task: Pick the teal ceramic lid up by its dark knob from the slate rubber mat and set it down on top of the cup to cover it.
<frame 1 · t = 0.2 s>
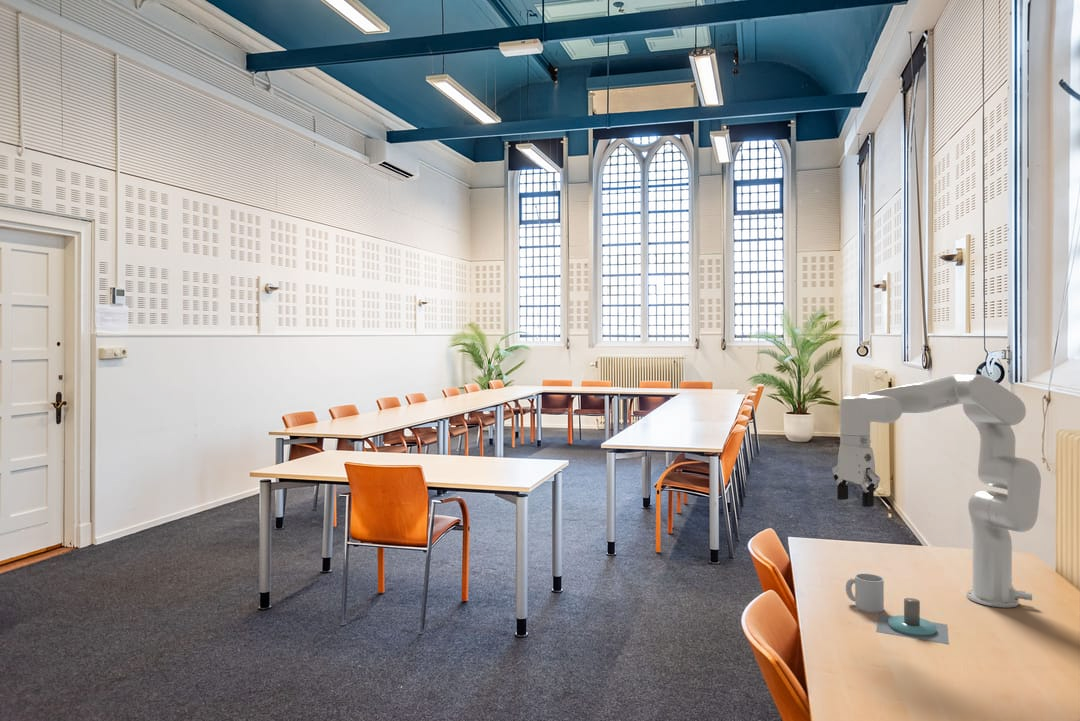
hand: (855, 502, 188), 31 cm above the table, tool pointing down, fingers open, 9 cm apart
cup: (864, 608, 192), on the table
mat: (912, 629, 177), on the table
lid: (911, 628, 177), resting on mat
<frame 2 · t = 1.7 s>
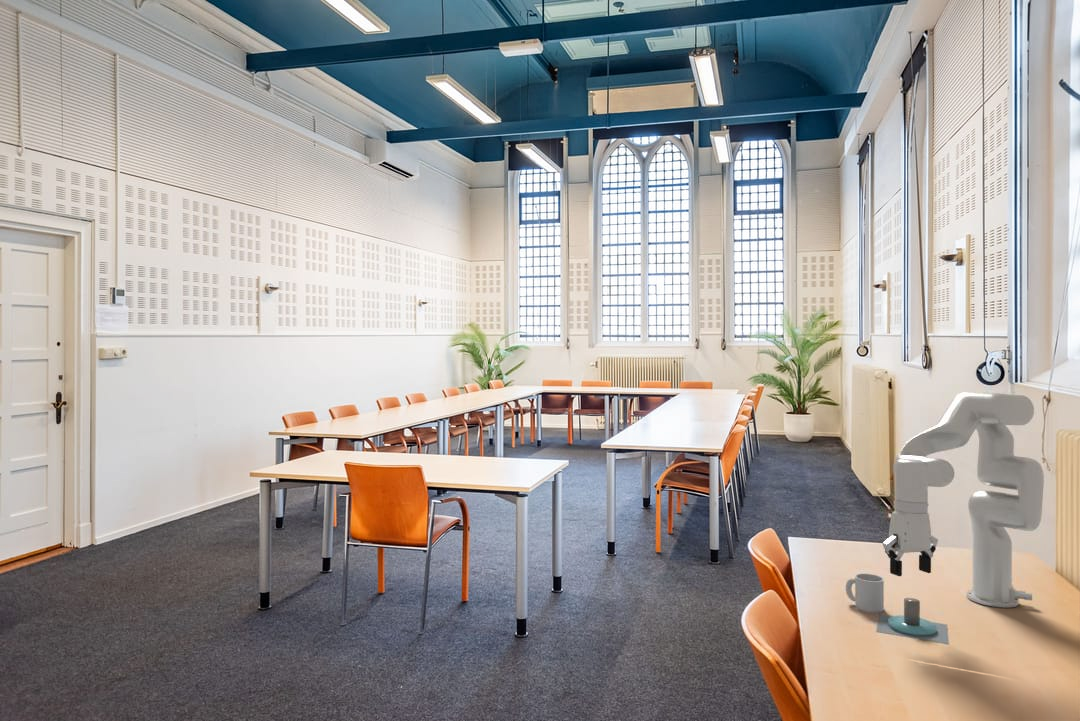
hand: (910, 573, 176), 15 cm above the table, tool pointing down, fingers open, 9 cm apart
nothing on the table moved.
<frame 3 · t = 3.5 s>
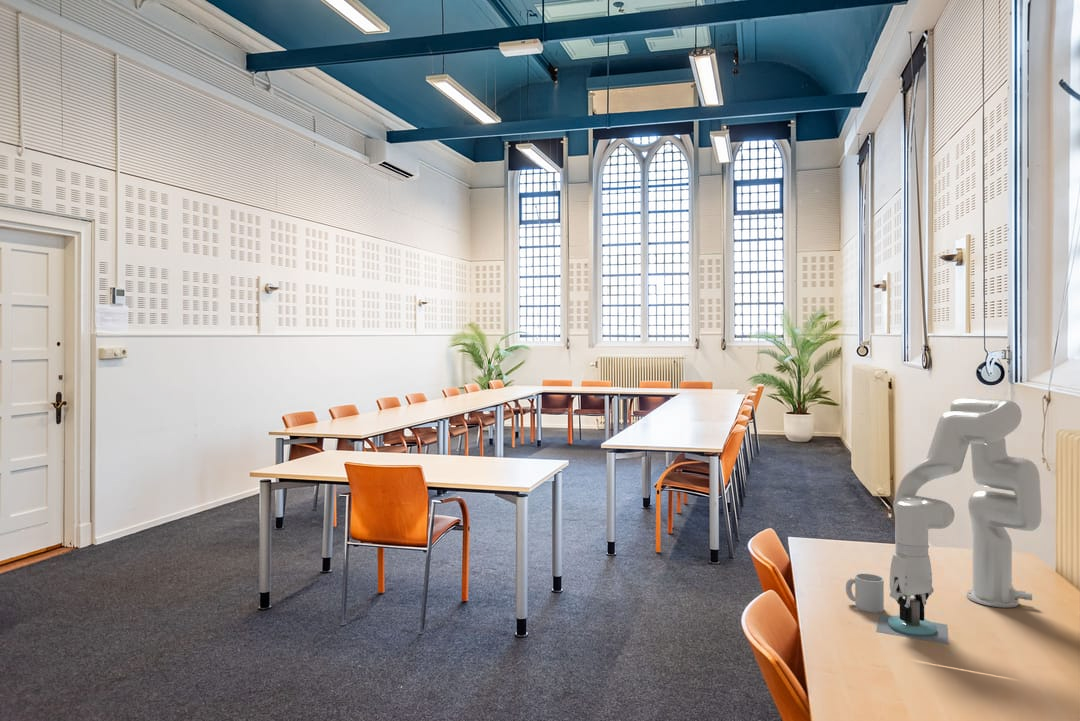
hand: (911, 619, 177), 3 cm above the table, tool pointing down, fingers closed on lid, 3 cm apart
lid: (912, 627, 177), resting on mat, touching gripper
everything else where it was.
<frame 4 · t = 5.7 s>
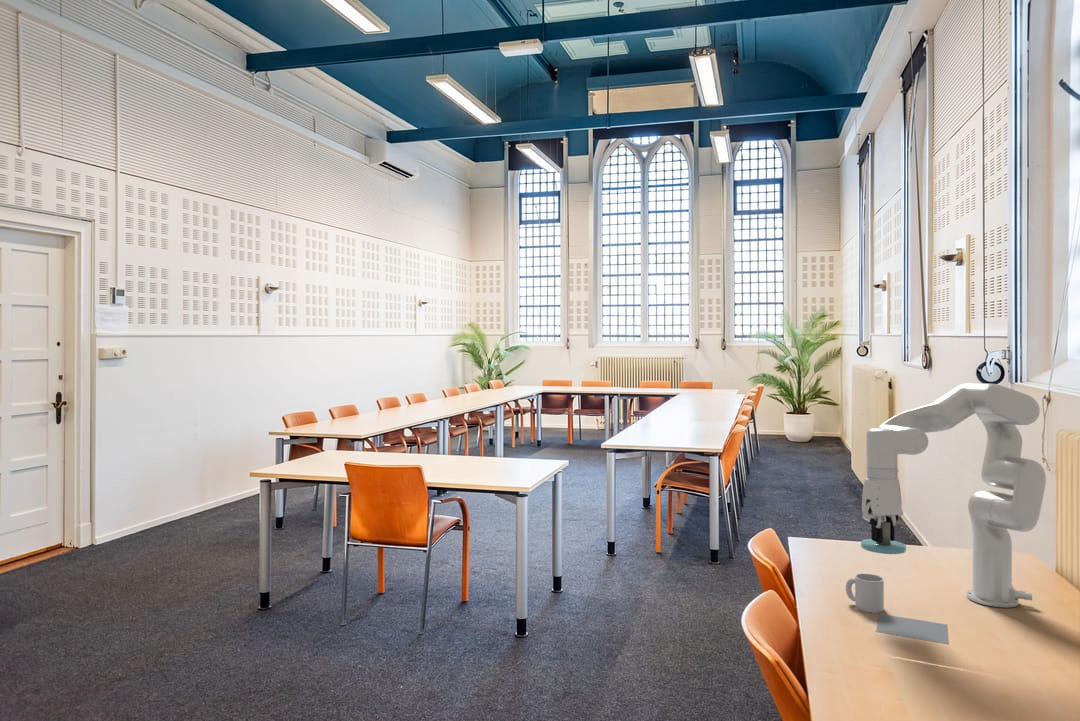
hand: (883, 540, 186), 21 cm above the table, tool pointing down, fingers closed on lid, 3 cm apart
lid: (883, 548, 186), point 19 cm above the table, touching gripper
everything else where it was.
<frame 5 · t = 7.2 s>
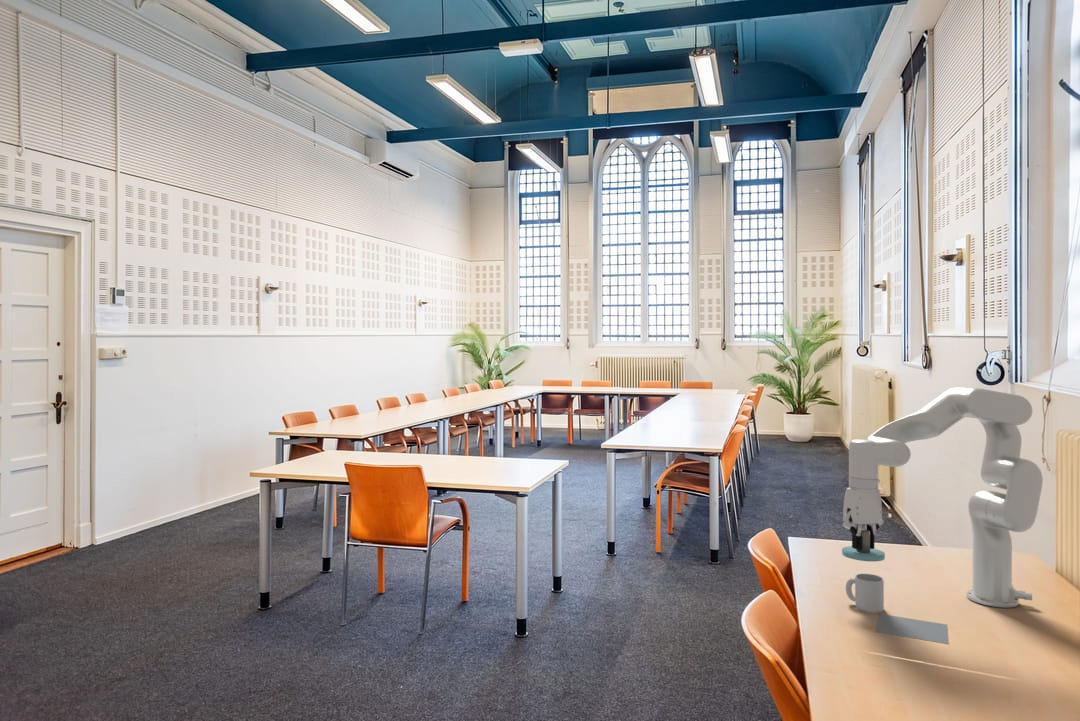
hand: (863, 547, 192), 17 cm above the table, tool pointing down, fingers closed on lid, 3 cm apart
lid: (863, 555, 192), point 15 cm above the table, touching gripper
everything else where it was.
when the fingers open (13 cm above the table, at t = 8.2 s): lid drops 2 cm, resting on cup.
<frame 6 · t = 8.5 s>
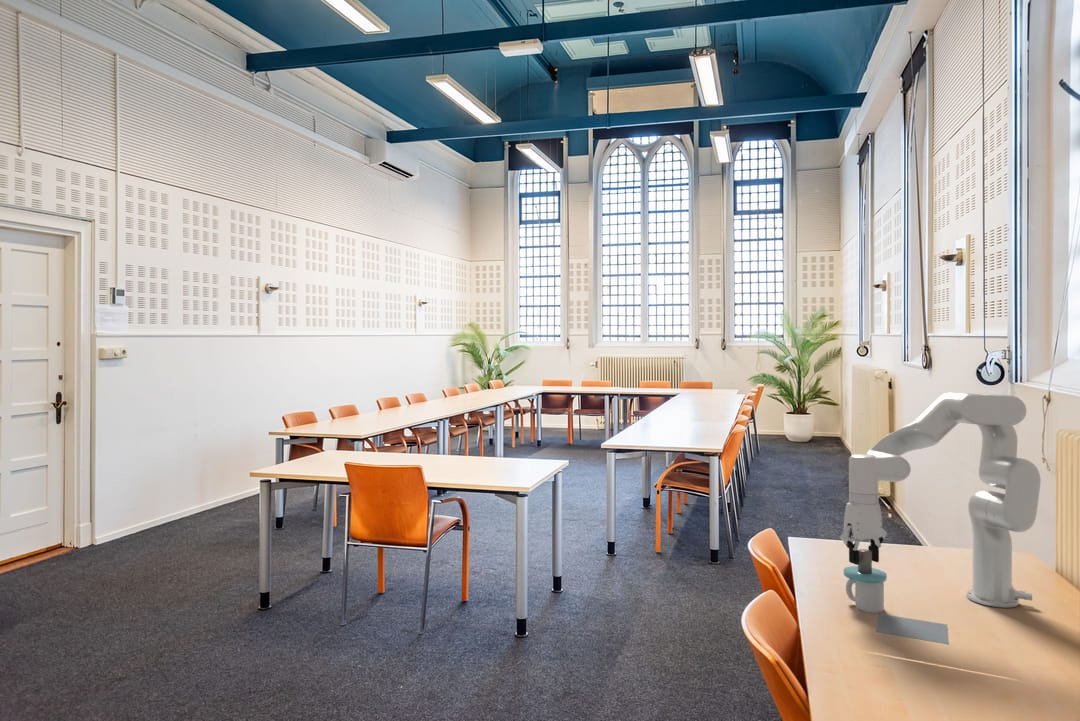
hand: (863, 561, 192), 13 cm above the table, tool pointing down, fingers open, 6 cm apart
cup: (864, 608, 192), on the table, touching lid
lid: (864, 576, 192), point 9 cm above the table, touching cup
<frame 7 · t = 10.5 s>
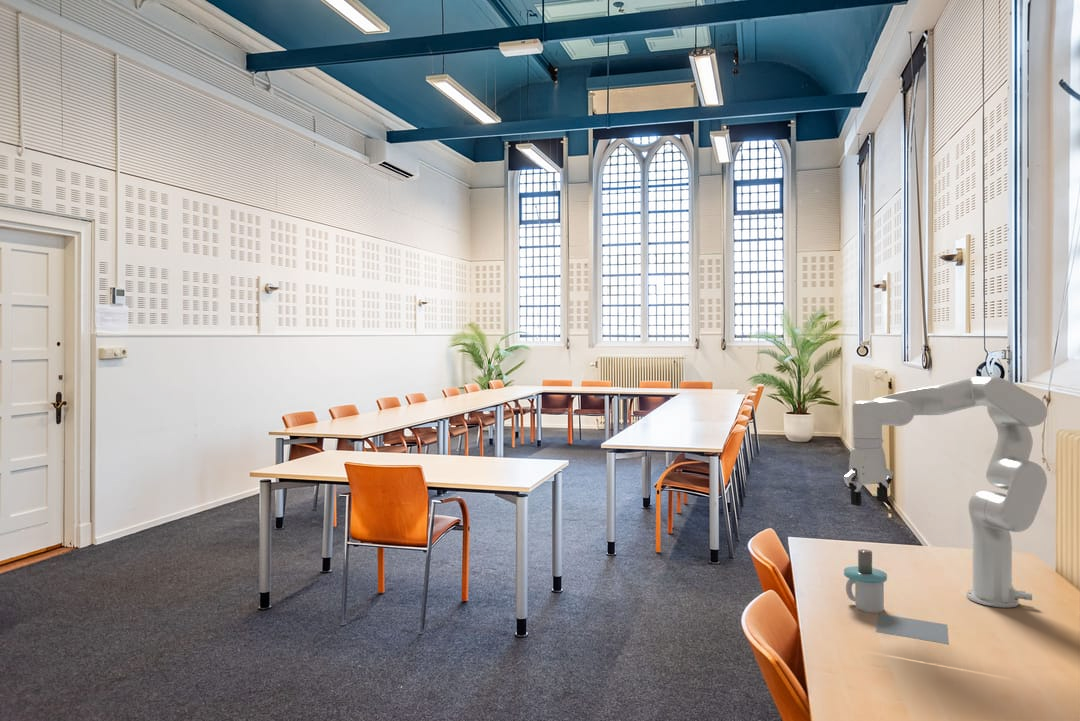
hand: (869, 503, 195), 29 cm above the table, tool pointing down, fingers open, 9 cm apart
nothing on the table moved.
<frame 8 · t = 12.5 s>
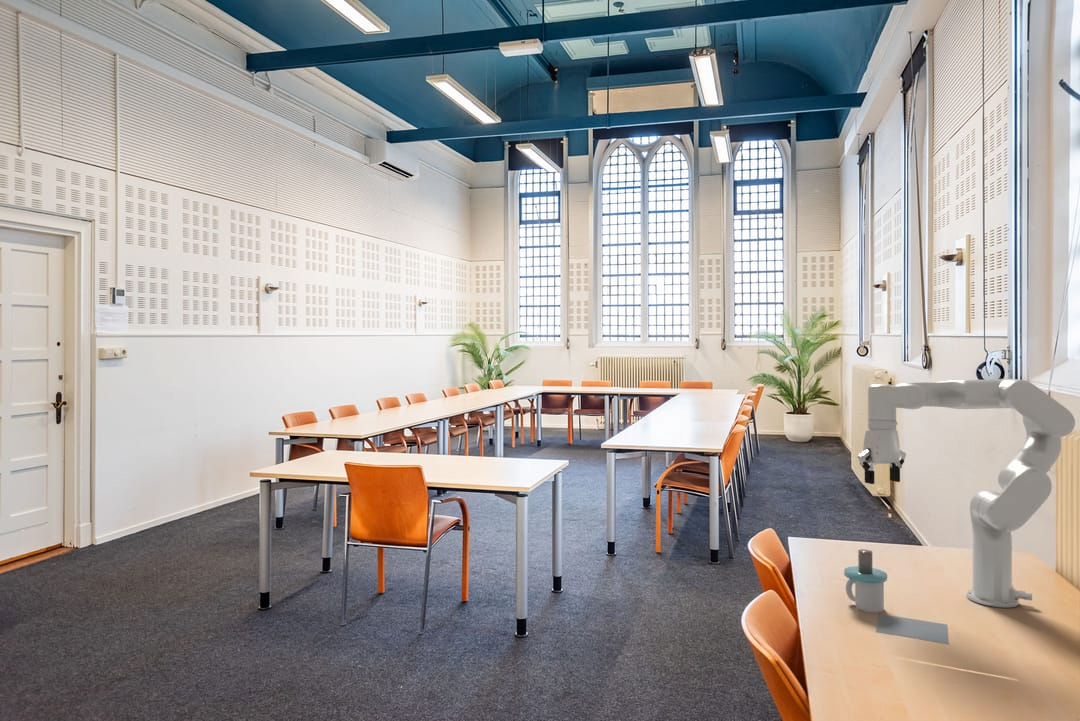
hand: (882, 482, 204), 33 cm above the table, tool pointing down, fingers open, 9 cm apart
nothing on the table moved.
at the end: lid 0.4 cm off-centre on the cup, point 9.1 cm above the cup's base; lid tilted 0°; cup tilted 0° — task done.
